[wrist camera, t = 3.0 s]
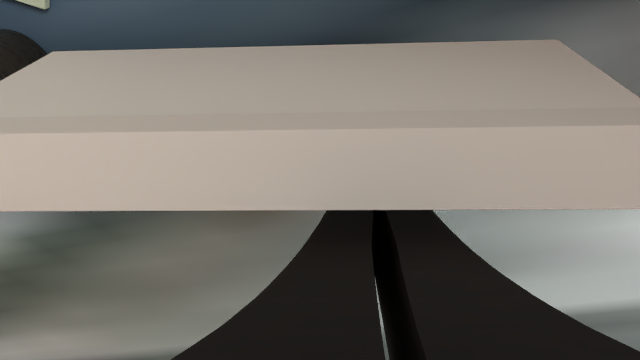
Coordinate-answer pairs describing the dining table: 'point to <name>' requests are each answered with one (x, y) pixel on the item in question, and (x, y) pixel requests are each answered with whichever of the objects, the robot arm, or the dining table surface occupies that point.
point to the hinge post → (17, 52)
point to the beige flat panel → (319, 129)
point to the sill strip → (37, 3)
